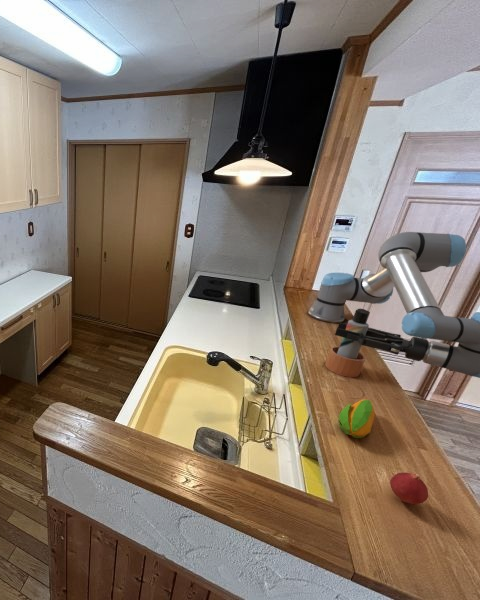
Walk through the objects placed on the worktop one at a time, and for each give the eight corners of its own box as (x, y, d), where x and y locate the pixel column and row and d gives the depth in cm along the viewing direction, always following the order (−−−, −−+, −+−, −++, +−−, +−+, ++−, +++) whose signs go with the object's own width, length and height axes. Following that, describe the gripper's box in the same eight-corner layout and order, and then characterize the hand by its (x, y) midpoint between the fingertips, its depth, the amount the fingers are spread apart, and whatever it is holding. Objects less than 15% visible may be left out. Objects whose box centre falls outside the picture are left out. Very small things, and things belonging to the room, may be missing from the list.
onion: (378, 489, 74) (390, 463, 71) (400, 487, 75) (414, 461, 72) (403, 513, 69) (418, 486, 66) (428, 511, 69) (443, 485, 66)
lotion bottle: (348, 356, 122) (366, 307, 115) (358, 364, 117) (378, 313, 110) (332, 355, 123) (349, 306, 116) (342, 363, 117) (360, 312, 110)
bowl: (350, 364, 125) (356, 348, 122) (364, 379, 116) (371, 362, 113) (320, 360, 127) (325, 344, 125) (332, 374, 118) (338, 358, 115)
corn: (339, 411, 87) (356, 383, 100) (329, 432, 90) (346, 402, 103) (374, 428, 82) (387, 396, 95) (361, 450, 85) (375, 416, 98)
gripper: (421, 372, 99) (330, 346, 114) (419, 351, 112) (337, 329, 127) (431, 351, 97) (336, 327, 112) (428, 331, 110) (343, 312, 124)
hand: (337, 328), depth 119 cm, fingers closed on lotion bottle, 6 cm apart
